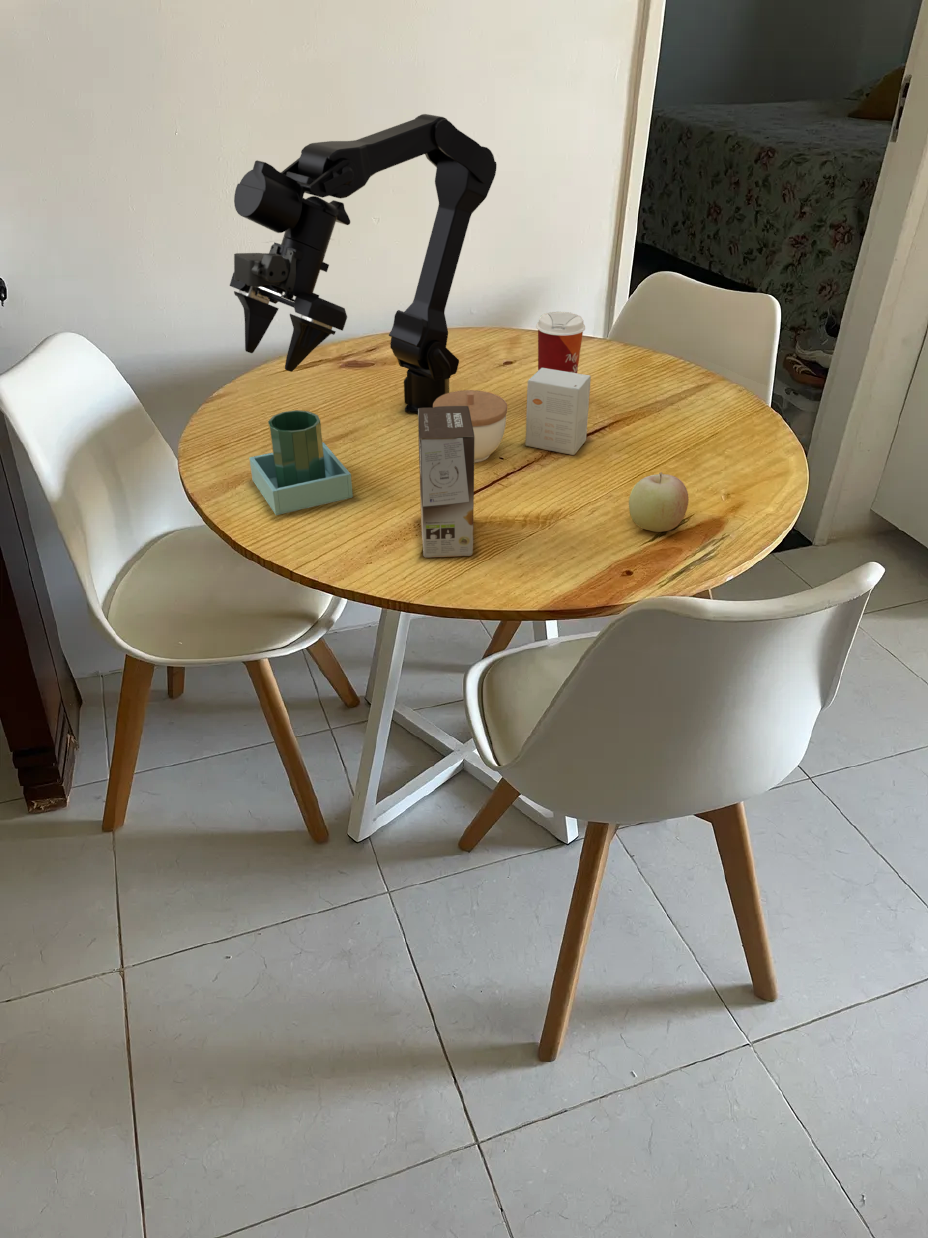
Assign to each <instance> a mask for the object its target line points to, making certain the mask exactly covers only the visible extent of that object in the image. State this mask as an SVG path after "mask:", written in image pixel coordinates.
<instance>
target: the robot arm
mask: <svg viewBox="0 0 928 1238" xmlns="http://www.w3.org/2000/svg"><path fill="white" fill-rule="evenodd" d="M300 153H301V154H300V156H299V158H297V159H296V160H294V161H293V162H292V163H291V164H289V165H288V166H287V167H286V168H285V169H283V170H281V171H279V170H277V169H276V168H275V167H274V166H273V165H272V164H270V163H268V162H265V161H261V160H258V159H257V160H255V161H254V163H253V167H252V169H251V170H249V171H248V172H246V173H245V174H244V175H243V177H242V178H241V179H240V182H239V183H237V184H236V187H235V190H234V195H233V196H234V197H233V202H234V209H235V211H236V212H237V214H238V216H240V217H243V218H245V219H247V220H249V221H251V222H253V223H254V224H255V223H256V224H258V225H259V226H262V227H264V228H265V229H268V230H270V231H272V232H275V233H277V234H282V233H284V234H283V237H282V240H281V243H278V242H274V243H273V244H272V245H271V246H270V249H269V252H267V253H266V252H237V253H234V254H233V273H232V275H231V279H230V283H229V287H232V288H233V289H236V290H238V291H235V290H234V291H233V294H234V297H235V296H236V297H237V299H238V300H239V302H240V304H241V306H242V308H243V316H244V317H243V318H244V351H245V352H246V353H249V354H253V353H254V352H255V351H256V349H257V348H258V347H259V345H260V343H261V342H262V339H263V338H264V336H265V334H266V332H267V331H268V328H269V327H270V325H271V324H272V322H273V320H274V318H275V316H276V314H277V313H278V311H279V308H278V307H277V306H275V305H277V303H278V302H279V303H281V304H284V305H286V306H288V307H291V308H293V309H294V312H295V313H296V314H299V315H301V316H297V315H295V314H292V313H289V318H290V321H291V325H292V327H293V328H292V329H293V331H292V333H291V338H290V342H289V346H288V350H287V354H286V358H285V366H284V370H285V371H288V372H290V373H292V372H294V371H295V369H296V368H297V367H299V365H300V364H302V362H303V361H305V359H306V358H307V357H308V356H309V355H310V354H311V353H312V352H313V351H314V350H315V349H316V348H318V346H319V345H320V344H322V343H323V341H325V340H326V339H327V338H329V336H330V335H332V336H334V335H336V333H337V331H335V330H334V329H338V330H339V331H344V329H345V325H346V322H347V319H348V314H347V311H346V308H345V307H343V306H341V305H338V304H336V303H334V302H331V301H329V300H326V299H324V298H321V297H320V294H317V293H315V292H314V291H315V288H316V285H317V282H318V280H319V279H318V278H319V276H320V272H321V271H322V272H325V273H328V270H329V267H330V264H329V263H327V262H324V260H325V257H326V253H327V251H328V247H329V244H330V242H331V238H332V235H333V232H334V229H335V225H336V223H338V224H342V225H345V226H349V225H350V224H351V219H350V217H349V215H348V213H347V211H346V208H345V203H344V202H341V201H338V200H333V199H332V200H331V201H330V202H328V201H327V200H325V199H323V198H326V197H333V198H337V199H346V198H348V197H350V196H351V195H353V194H355V193H356V192H357V191H359V190H360V189H362V188H363V187H365V186H366V184H367V183H368V181H369V180H370V178H371V177H373V176H374V175H376V174H377V173H379V172H382V171H385V170H387V169H390V168H392V167H395V166H398V165H400V164H402V163H405V162H408V161H410V160H414V159H415V158H418V157H421V156H423V155H425V158H426V159H427V160H428V161H429V162H430V163H431V164H432V165H433V166H434V167H435V168H436V169H435V177H434V185H435V191H436V196H437V200H438V206H437V211H436V213H435V214H436V215H435V218H434V221H433V226H432V230H431V233H430V237H429V240H428V245H427V248H426V252H425V256H424V260H423V263H422V267H421V271H420V275H419V278H418V282H417V285H416V289H415V293H414V297H413V299H412V303H410V305H409V306H408V307H407V308H406V309H404V311H402V310H400V309H397V311H396V312H395V314H394V318H393V324H392V328H391V330H390V332H389V334H388V337H390V342H389V346H390V350H391V351H392V353H393V356H394V357H395V358H396V359H397V362H398V365H399V367H401V368H405V369H407V371H406V376H405V378H404V380H403V400H404V404H405V405H406V406H405V407H404V412H405V413H412V414H418V409H419V408H433V403H434V402H435V400H436V399H437V398H439V397H440V396H442V395H444V394H447V393H450V379H451V377H452V376H453V375H455V374H457V373H458V368H459V364H460V360H459V358H458V357H457V356H456V355H454V353H453V352H451V351H450V349H448V348H447V343H448V339H449V337H448V336H449V331H448V330H449V329H448V324H447V320H446V319H447V318H446V314H445V311H446V306H447V303H448V299H449V296H450V293H451V288H452V286H453V281H454V278H455V274H456V270H457V267H458V264H459V261H460V256H461V254H462V253H461V252H462V249H463V245H464V242H465V239H466V234H467V231H468V227H469V224H470V220H471V218H472V214H473V213H474V212H475V211H476V210H477V209H478V208H479V206H480V205H482V204H483V202H484V201H485V200H486V198H487V197H488V195H489V192H490V190H491V187H492V184H493V182H494V180H495V178H496V177H495V176H496V174H497V162H496V159H495V156H494V153H493V152H492V150H491V149H490V148H489V147H486V146H483V145H480V143H478V142H477V141H476V140H475V139H473V138H471V137H470V136H468V135H467V134H466V133H464V132H462V131H461V130H459V129H458V128H457V127H456V126H455V125H454V124H453V123H452V122H451V121H450V120H448V119H447V118H446V117H444V116H440V115H434V114H428V113H423V114H420V115H418V116H416V117H414V119H412V120H411V119H410V120H408V121H406V122H403V123H399V124H397V125H394V126H392V127H389V128H386V129H383V130H379V131H377V132H375V133H372V134H370V135H369V134H368V135H366V136H364V137H360V138H357V139H355V140H354V139H353V140H329V141H328V140H327V141H319V142H311V143H308V144H307V145H305V146H304V147H303V148H302V149H301V152H300ZM305 194H307V195H311V196H309V197H306V198H305V197H304V196H305ZM294 297H295V298H294ZM269 303H272V304H274V305H272V304H269ZM333 328H334V329H333Z"/></svg>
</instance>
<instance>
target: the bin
mask: <svg viewBox="0 0 928 1238" xmlns="http://www.w3.org/2000/svg"><path fill="white" fill-rule="evenodd" d="M322 444H323V454H324V465H325V475H326V478H322V479H317V480H313V481H308V482H304V483H299V484H295V485H290V486H286V487H281V488H277V485H276V478H275V470H274V463H273V455H272V452H269V453H264V454H260V455H254V456H249V458H248V459H249V466H250V472H251V480H252V482H253V483H254V485H255V487H256V488H257V490H258V491H259V492H260V494H261V496H262V497H263V498H264V500H265V501H266V503H267V505H268V506H269V507H270V509H271V510H272V512H273V514H275V516H279V515H280V516H281V515H283V514H288V513H292V512H297V511H300V510H301V511H302V510H304V509H305V510H306V509H309V508H313V507H318V506H322V505H326V504H330V503H335V502H339V501H344V500H348V499H351V498H353V497H354V495H353V483H352V473H351V472H350V471H349V470H348V469H347V468H346V466H345V465H344V464H343V463H342V462H341V461H340V459H339V458H338V457H337V456H336V455H335V454H334V453H333V451H332V450H331V449H330V447H328V446H327V444H326V443H325V442H324V441H322Z"/></svg>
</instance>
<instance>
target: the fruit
mask: <svg viewBox="0 0 928 1238" xmlns="http://www.w3.org/2000/svg"><path fill="white" fill-rule="evenodd" d="M688 506H689V491H688V489H687V486H686V485H685V483H684V482H683V481H682V479H680V478H679V477H677V476H674V475H672V474H665V473H663V472H662V471H661V472H659V473H658V474H651V475H647V476H645V477H643V478H641V479H639V480H638V481H637V482H636V483H635V484H634V486H633V488H632V489H631V491H630V494H629V497H628V511H629V515H630V518H631V519H632V521H633V522H634V524H635V525H636V526H638V527H639V528H641V529H642V530H646V531H651V532H655V533H662V532H669V531H671V530H673V529H675V528H676V527H678V526H679V525H680V523H681V522H682V521H683V520H684V518H685V516H686V513H687V512H688V511H687V510H688V508H689V507H688Z"/></svg>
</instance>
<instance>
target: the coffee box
mask: <svg viewBox="0 0 928 1238" xmlns="http://www.w3.org/2000/svg"><path fill="white" fill-rule="evenodd" d="M417 426H418V427H417V428H418V429H417V430H418V431H417V432H418V433H417V434H418V468H419V470H418V471H419V474H418V475H419V501H420V503H419V504H420V525H421V539H422V541H421V542H422V553H423V557H424V558H446V557H447V558H448V557H449V558H450V557H470V556H473V553H474V509H475V508H474V507H475V506H474V505H475V502H474V501H475V463H474V440H475V436H474V431H473V426H472V421H471V416H470V411H469V407H468V406H438V407H434V408H419V409H418V413H417Z"/></svg>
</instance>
